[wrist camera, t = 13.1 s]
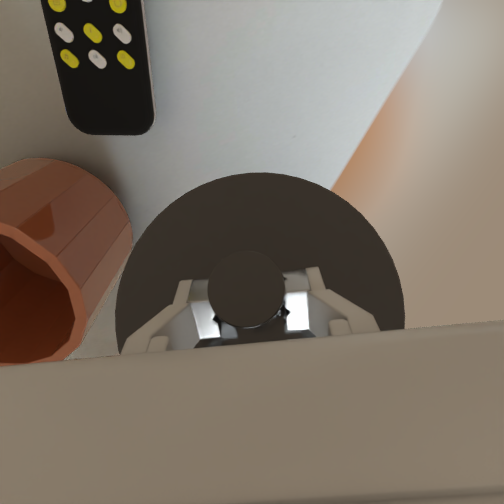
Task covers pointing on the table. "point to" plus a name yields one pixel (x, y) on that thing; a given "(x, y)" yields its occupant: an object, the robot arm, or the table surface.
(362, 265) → the jar lid
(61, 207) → the jar
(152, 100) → the remote control
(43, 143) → the table surface
